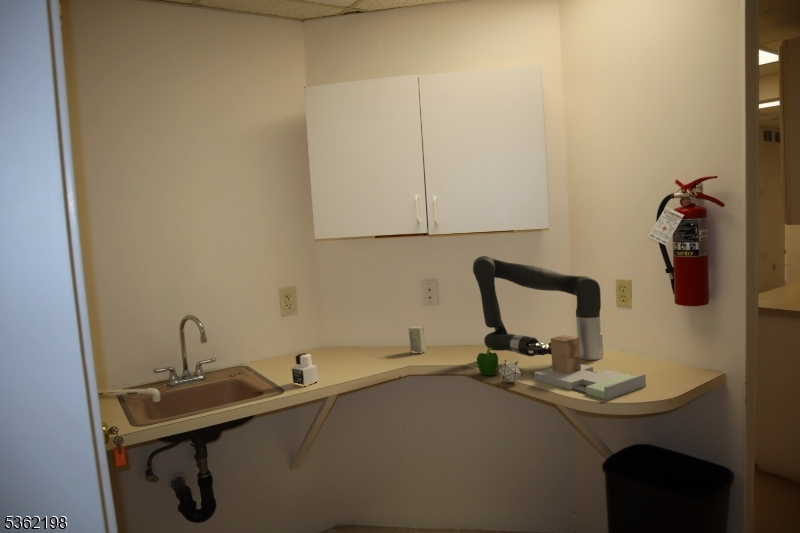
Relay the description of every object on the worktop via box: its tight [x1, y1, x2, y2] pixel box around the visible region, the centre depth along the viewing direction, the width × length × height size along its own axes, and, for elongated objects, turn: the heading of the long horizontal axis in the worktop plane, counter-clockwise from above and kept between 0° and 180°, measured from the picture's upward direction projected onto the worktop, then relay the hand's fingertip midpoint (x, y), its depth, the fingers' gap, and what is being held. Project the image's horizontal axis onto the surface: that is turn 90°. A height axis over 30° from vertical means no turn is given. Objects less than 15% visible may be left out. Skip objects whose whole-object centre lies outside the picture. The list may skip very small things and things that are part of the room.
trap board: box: [533, 363, 647, 401], centre depth 180 cm, size 20×31×4 cm, turn 31°
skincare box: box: [407, 326, 427, 352], centre depth 241 cm, size 6×4×12 cm
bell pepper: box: [476, 347, 499, 376], centre depth 199 cm, size 8×8×10 cm
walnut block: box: [550, 334, 582, 374], centre depth 187 cm, size 7×7×12 cm
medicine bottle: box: [291, 352, 319, 385], centre depth 204 cm, size 7×7×12 cm
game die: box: [496, 359, 524, 386], centre depth 186 cm, size 9×8×10 cm
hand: (558, 352), depth 190 cm, fingers closed
